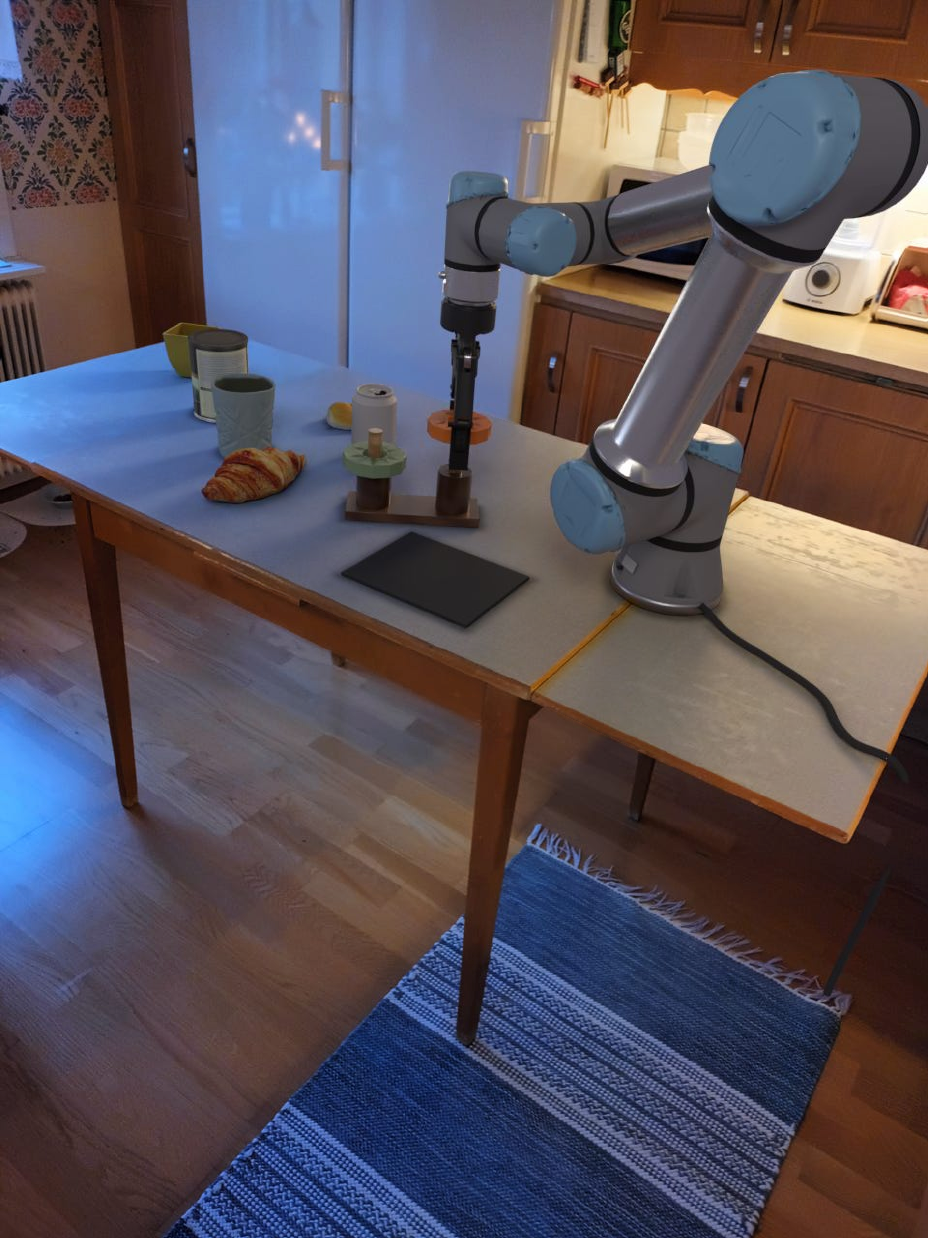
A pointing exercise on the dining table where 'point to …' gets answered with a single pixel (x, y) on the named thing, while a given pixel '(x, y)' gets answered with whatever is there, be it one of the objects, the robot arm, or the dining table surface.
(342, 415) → the bread roll
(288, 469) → the croissant
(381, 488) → the peg rack
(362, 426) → the can
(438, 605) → the mat
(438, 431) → the orange disc
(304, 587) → the dining table surface
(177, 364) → the flower pot
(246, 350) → the coffee can
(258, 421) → the grey embossed cup
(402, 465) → the green disc
